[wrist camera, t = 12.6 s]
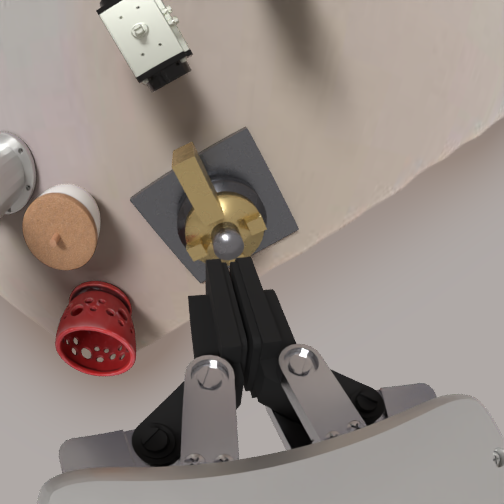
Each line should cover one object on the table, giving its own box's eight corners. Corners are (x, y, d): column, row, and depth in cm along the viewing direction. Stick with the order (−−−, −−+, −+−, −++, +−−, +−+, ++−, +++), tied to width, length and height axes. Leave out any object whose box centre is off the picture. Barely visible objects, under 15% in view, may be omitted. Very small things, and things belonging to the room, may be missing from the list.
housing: (199, 279, 48) (202, 295, 45) (128, 194, 37) (124, 207, 34) (296, 226, 46) (305, 239, 43) (243, 123, 35) (250, 129, 32)
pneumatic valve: (157, 89, 30) (145, 97, 21) (115, 18, 23) (86, -2, 13) (197, 67, 30) (204, 64, 20) (156, -5, 22) (145, -36, 13)
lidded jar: (122, 206, 38) (110, 242, 30) (81, 251, 40) (66, 292, 33) (69, 156, 32) (41, 183, 24) (31, 209, 34) (5, 244, 26)
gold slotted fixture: (269, 239, 41) (282, 265, 37) (204, 267, 42) (209, 296, 37) (223, 127, 31) (231, 139, 26) (144, 165, 31) (137, 184, 27)
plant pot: (106, 334, 51) (100, 385, 42) (56, 294, 43) (40, 347, 34) (153, 306, 50) (153, 362, 40) (101, 259, 42) (86, 315, 32)
